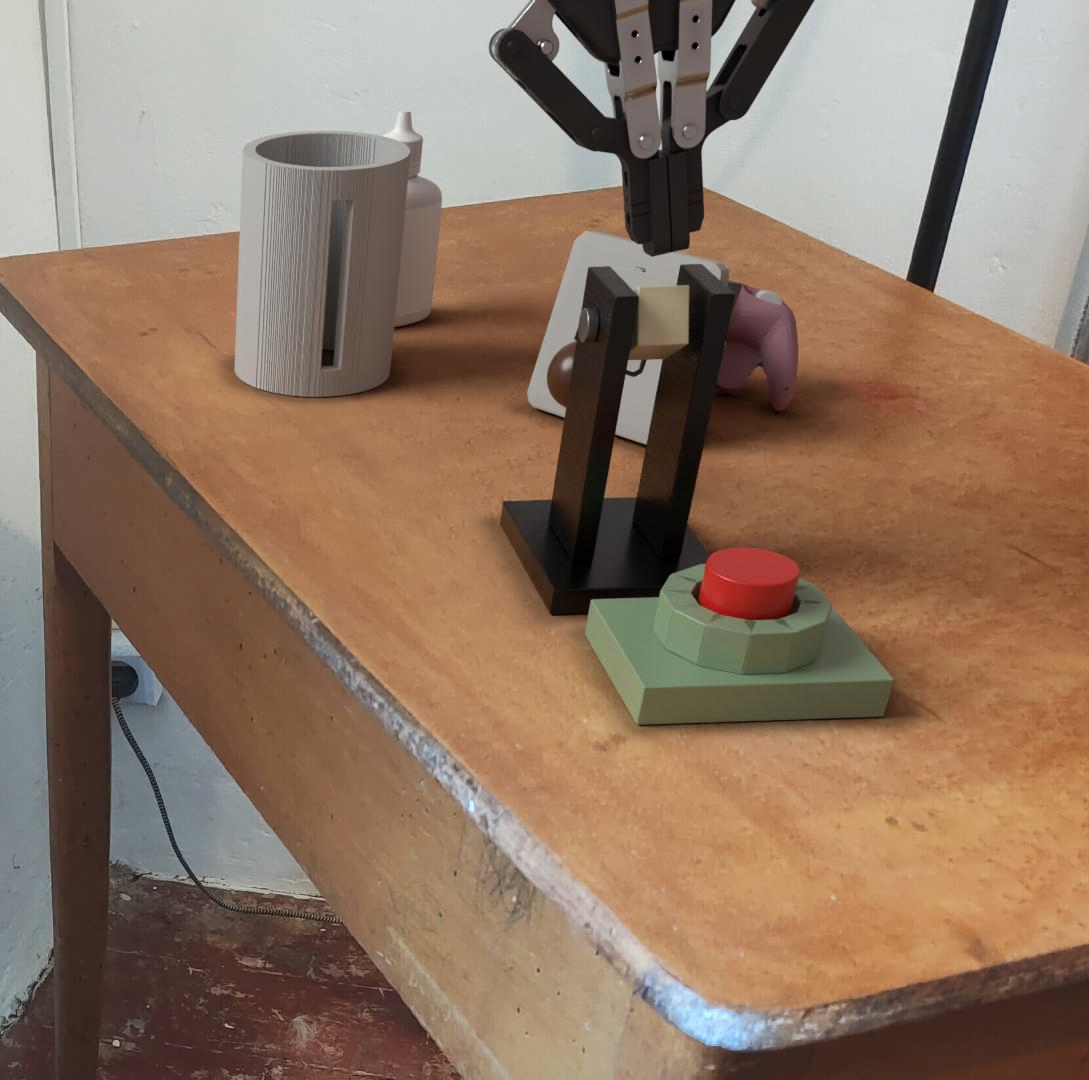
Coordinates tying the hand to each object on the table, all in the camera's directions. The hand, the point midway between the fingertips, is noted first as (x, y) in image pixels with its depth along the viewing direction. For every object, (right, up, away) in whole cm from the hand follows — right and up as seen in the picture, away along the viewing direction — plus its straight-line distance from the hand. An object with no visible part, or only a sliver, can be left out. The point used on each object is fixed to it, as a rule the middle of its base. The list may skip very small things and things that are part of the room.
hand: (666, 249), depth 72 cm
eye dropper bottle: (-5, +12, +39) cm, 41 cm away
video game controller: (+11, +3, +27) cm, 30 cm away
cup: (-11, +6, +32) cm, 34 cm away
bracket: (+1, -11, +10) cm, 14 cm away
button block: (+3, -17, +1) cm, 18 cm away
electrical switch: (+5, +1, +25) cm, 25 cm away
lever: (0, -3, +8) cm, 9 cm away
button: (+3, -15, -1) cm, 15 cm away
